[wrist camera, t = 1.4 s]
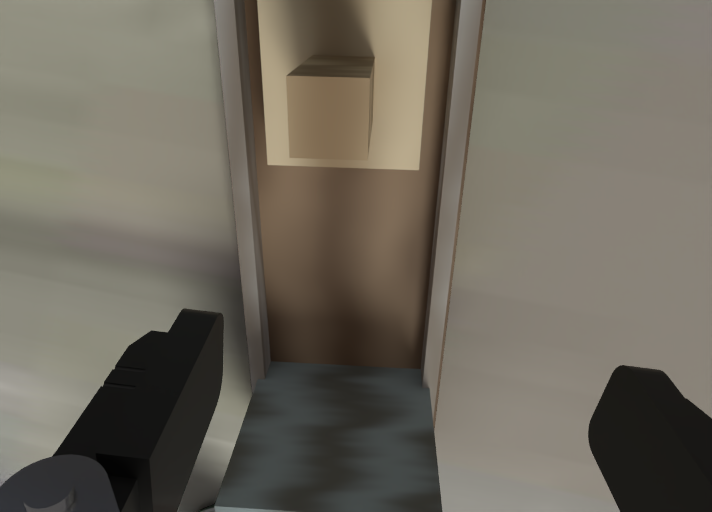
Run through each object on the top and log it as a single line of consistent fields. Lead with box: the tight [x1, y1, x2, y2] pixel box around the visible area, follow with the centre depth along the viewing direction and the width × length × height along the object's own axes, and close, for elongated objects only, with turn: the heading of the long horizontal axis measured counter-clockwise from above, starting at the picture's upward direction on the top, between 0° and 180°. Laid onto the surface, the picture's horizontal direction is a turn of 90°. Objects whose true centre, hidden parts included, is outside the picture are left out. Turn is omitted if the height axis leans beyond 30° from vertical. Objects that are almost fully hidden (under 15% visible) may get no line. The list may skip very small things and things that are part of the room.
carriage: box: [257, 0, 432, 170], centre depth 23 cm, size 8×8×10 cm
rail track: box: [214, 0, 486, 512], centre depth 27 cm, size 14×40×14 cm, turn 179°
